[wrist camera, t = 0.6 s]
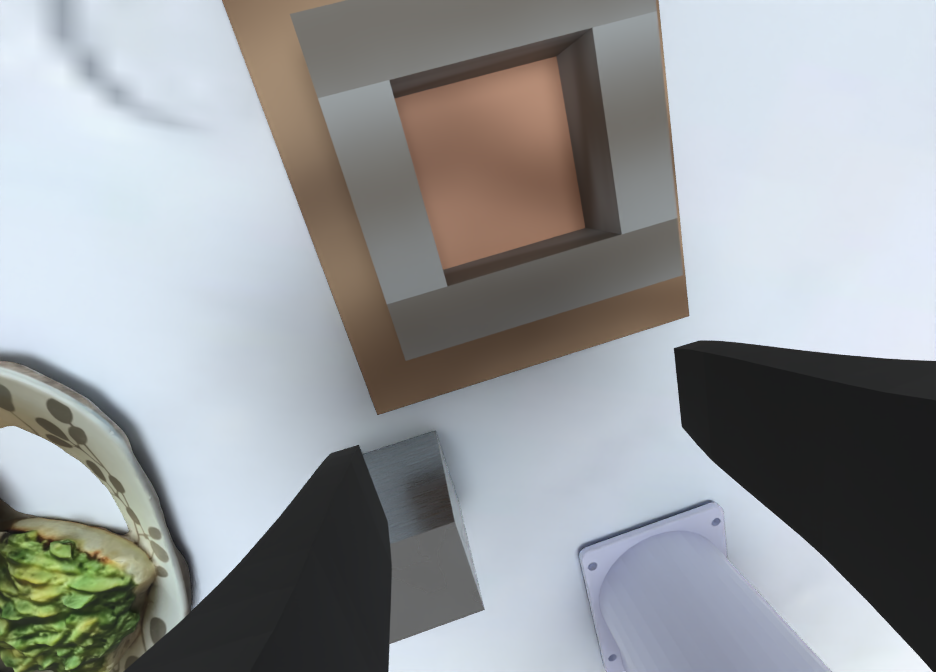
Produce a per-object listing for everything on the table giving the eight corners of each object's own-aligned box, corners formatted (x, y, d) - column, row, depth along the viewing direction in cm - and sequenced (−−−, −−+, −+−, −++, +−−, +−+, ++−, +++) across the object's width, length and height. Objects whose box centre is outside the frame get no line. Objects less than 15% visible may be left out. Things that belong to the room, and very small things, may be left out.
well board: (678, 311, 21) (739, 336, 17) (377, 406, 19) (376, 454, 16) (631, -132, 15) (706, -233, 12) (213, -37, 14) (154, -115, 11)
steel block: (458, 501, 22) (484, 609, 16) (377, 528, 21) (374, 649, 16) (435, 430, 20) (454, 521, 15) (348, 458, 20) (333, 563, 14)
